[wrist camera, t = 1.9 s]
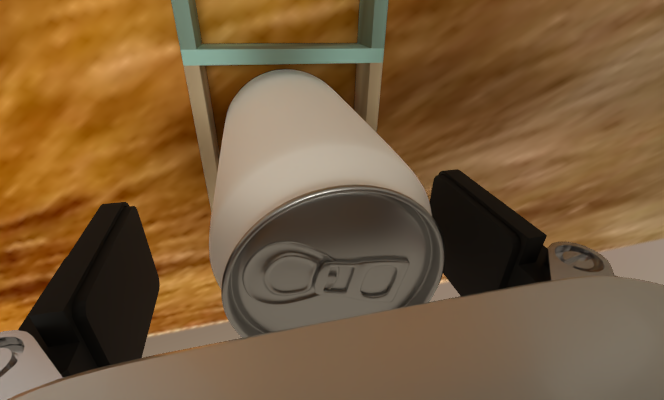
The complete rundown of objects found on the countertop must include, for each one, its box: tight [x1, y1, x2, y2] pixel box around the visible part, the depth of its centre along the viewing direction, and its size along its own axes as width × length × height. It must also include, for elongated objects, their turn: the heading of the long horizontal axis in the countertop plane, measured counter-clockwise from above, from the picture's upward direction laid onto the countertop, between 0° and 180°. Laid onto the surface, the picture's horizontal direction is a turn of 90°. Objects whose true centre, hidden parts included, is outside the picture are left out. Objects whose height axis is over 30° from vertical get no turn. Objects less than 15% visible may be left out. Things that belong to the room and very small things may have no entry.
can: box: [209, 69, 445, 338], centre depth 13 cm, size 6×6×12 cm
